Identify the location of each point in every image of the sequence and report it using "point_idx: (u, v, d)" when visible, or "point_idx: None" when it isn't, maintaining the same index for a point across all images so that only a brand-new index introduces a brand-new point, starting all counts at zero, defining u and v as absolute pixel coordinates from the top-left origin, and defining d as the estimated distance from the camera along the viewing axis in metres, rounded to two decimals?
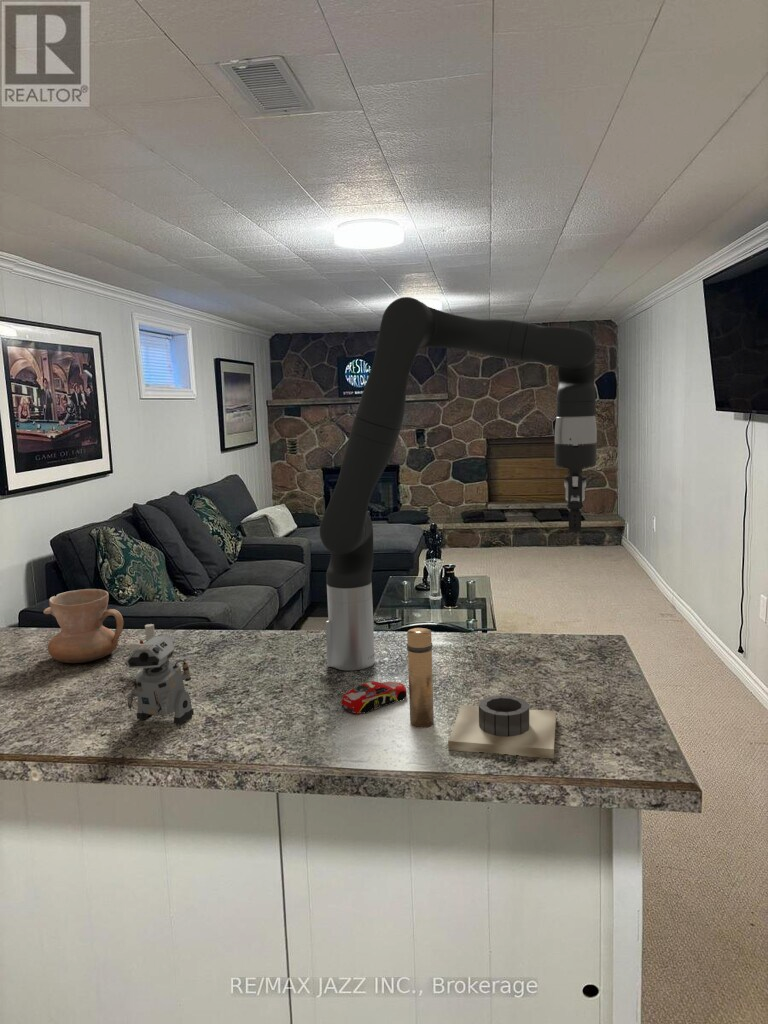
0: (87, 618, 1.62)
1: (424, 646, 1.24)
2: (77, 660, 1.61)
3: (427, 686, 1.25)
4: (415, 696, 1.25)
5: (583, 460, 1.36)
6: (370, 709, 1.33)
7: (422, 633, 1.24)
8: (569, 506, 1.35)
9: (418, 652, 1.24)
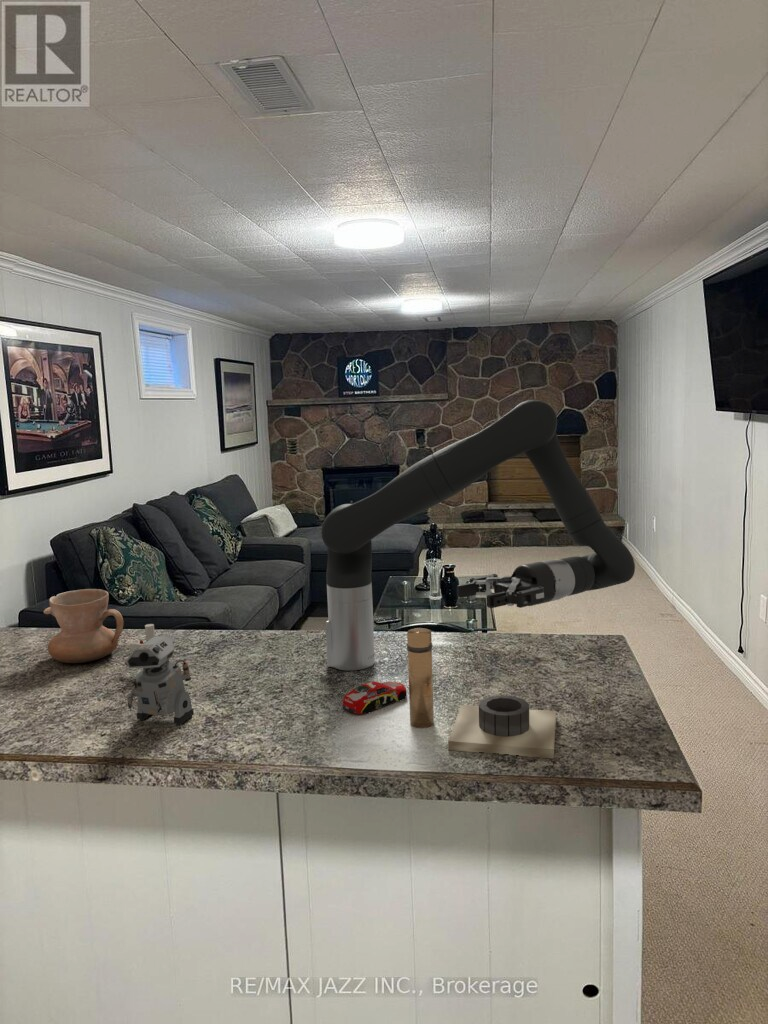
0: (87, 618, 1.62)
1: (424, 646, 1.24)
2: (77, 660, 1.61)
3: (427, 686, 1.25)
4: (415, 696, 1.25)
5: None
6: (371, 709, 1.33)
7: (422, 633, 1.24)
8: (522, 594, 1.26)
9: (418, 652, 1.24)
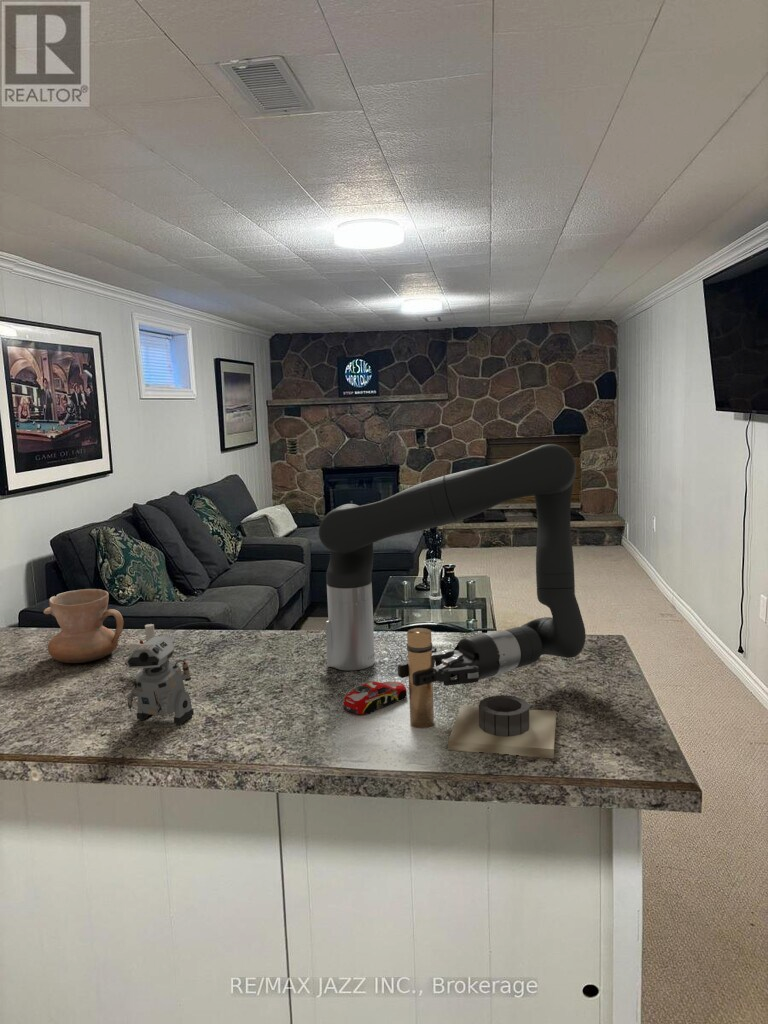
0: (87, 618, 1.62)
1: (424, 646, 1.24)
2: (77, 660, 1.61)
3: (427, 686, 1.25)
4: (415, 696, 1.25)
5: (485, 672, 1.29)
6: (373, 709, 1.33)
7: (422, 633, 1.24)
8: (447, 672, 1.23)
9: (418, 652, 1.24)
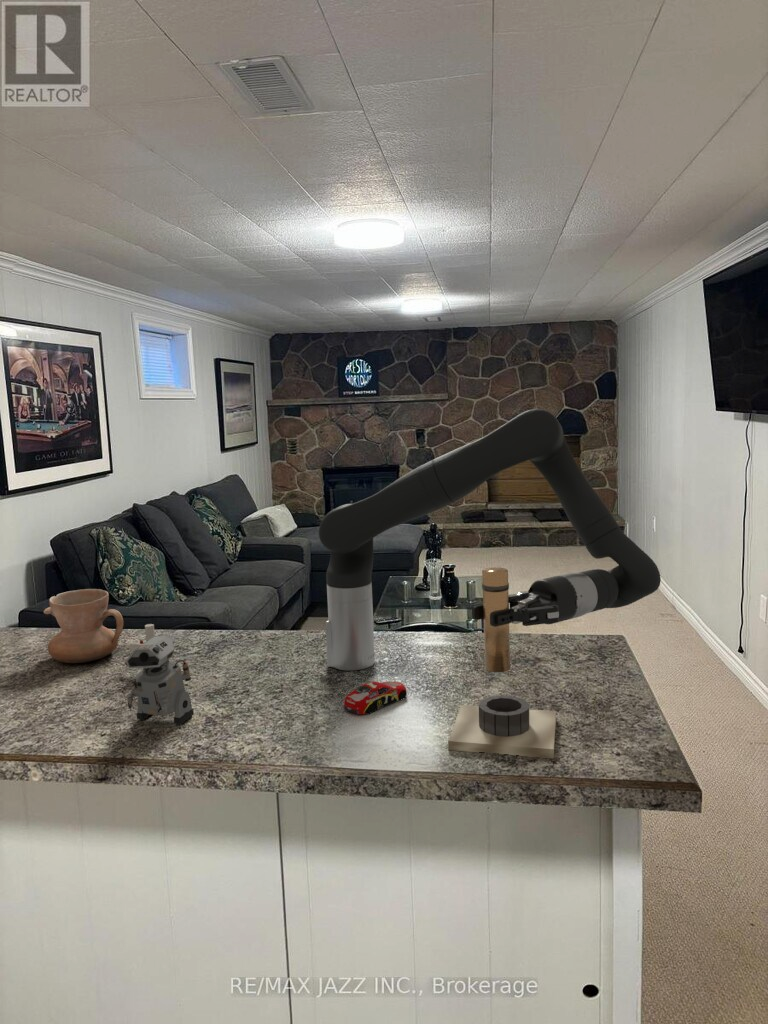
0: (87, 618, 1.62)
1: (501, 585, 1.17)
2: (77, 660, 1.61)
3: (504, 627, 1.18)
4: (492, 639, 1.18)
5: (563, 613, 1.22)
6: (373, 709, 1.33)
7: (498, 571, 1.18)
8: (527, 612, 1.16)
9: (495, 591, 1.17)
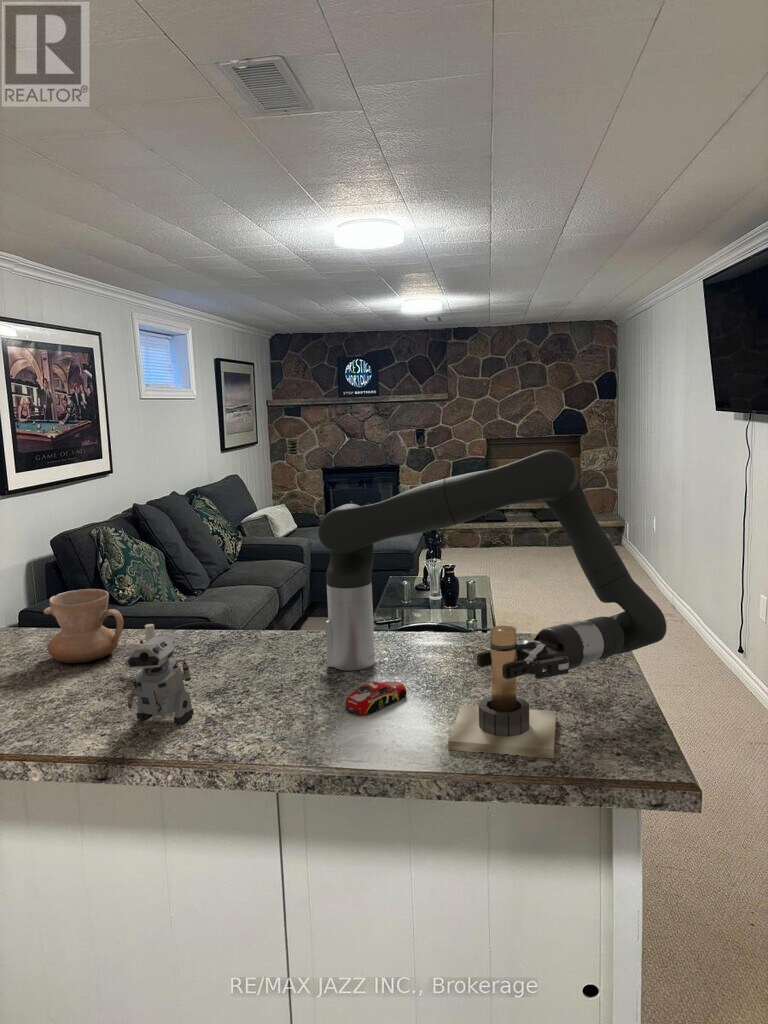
0: (87, 618, 1.62)
1: (509, 644, 1.18)
2: (77, 660, 1.61)
3: (511, 686, 1.19)
4: (499, 697, 1.20)
5: (569, 663, 1.23)
6: (375, 709, 1.33)
7: (506, 630, 1.19)
8: (540, 665, 1.16)
9: (503, 650, 1.18)
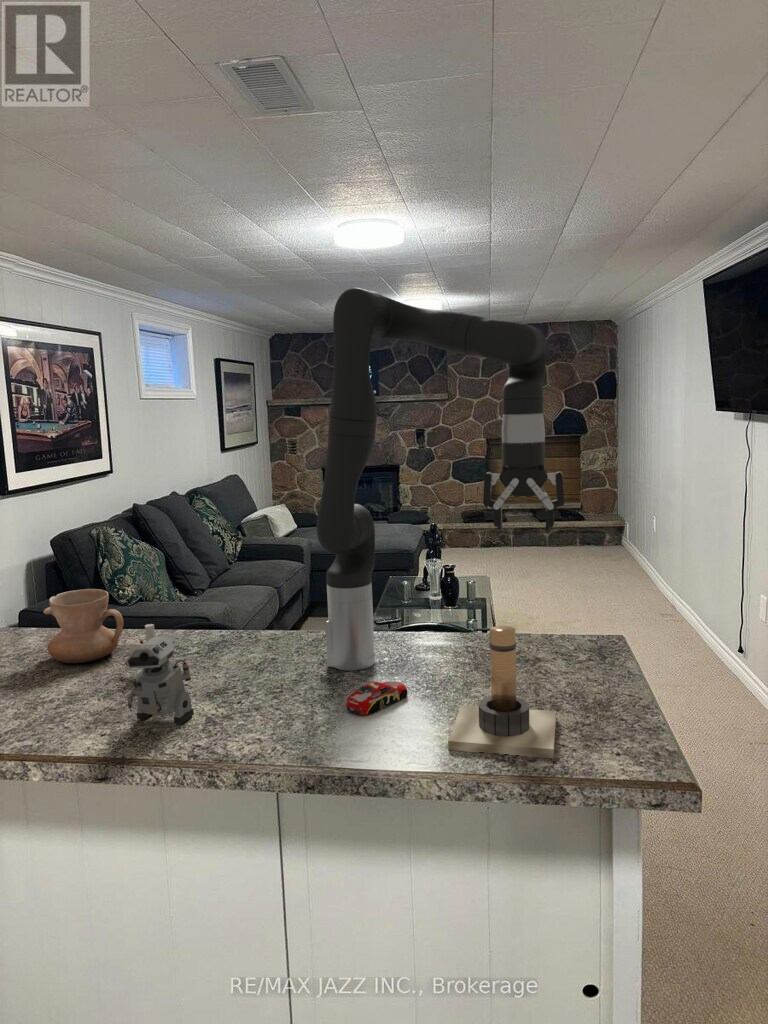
0: (87, 618, 1.62)
1: (509, 644, 1.18)
2: (77, 660, 1.61)
3: (511, 686, 1.19)
4: (499, 697, 1.20)
5: None
6: (376, 710, 1.33)
7: (506, 631, 1.19)
8: None
9: (502, 651, 1.18)
